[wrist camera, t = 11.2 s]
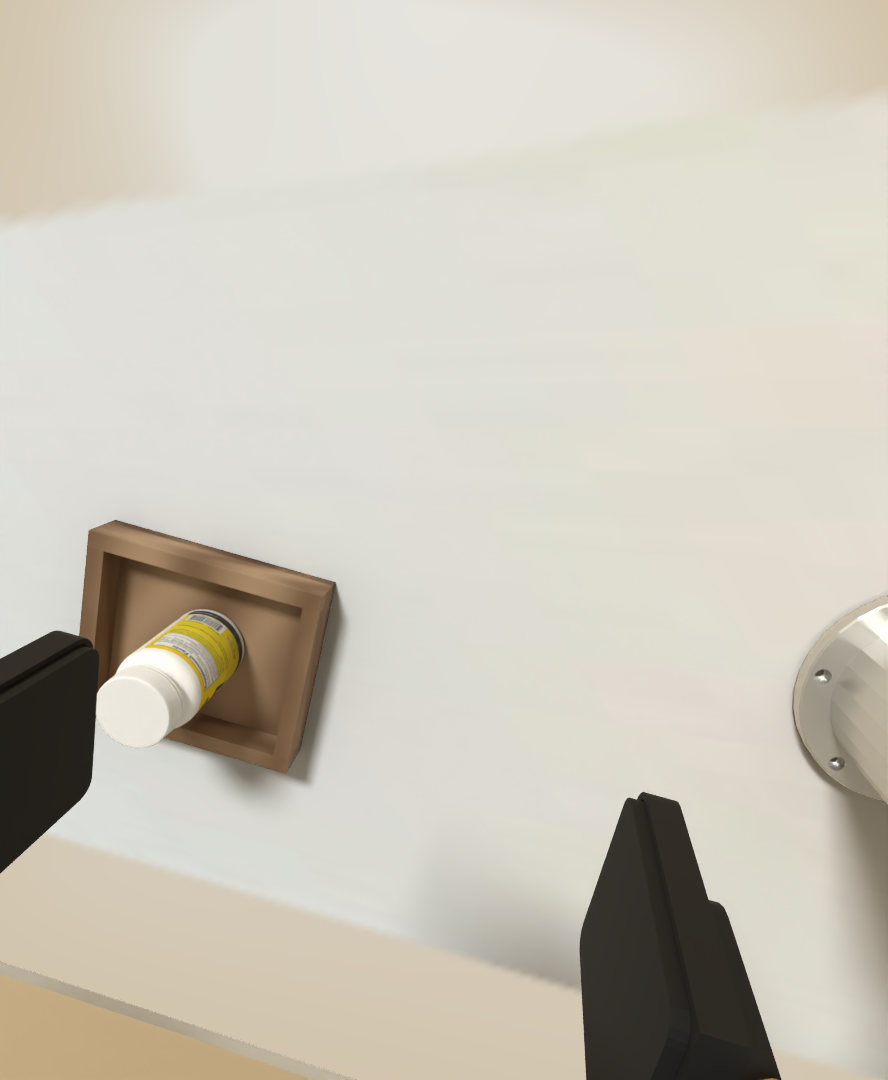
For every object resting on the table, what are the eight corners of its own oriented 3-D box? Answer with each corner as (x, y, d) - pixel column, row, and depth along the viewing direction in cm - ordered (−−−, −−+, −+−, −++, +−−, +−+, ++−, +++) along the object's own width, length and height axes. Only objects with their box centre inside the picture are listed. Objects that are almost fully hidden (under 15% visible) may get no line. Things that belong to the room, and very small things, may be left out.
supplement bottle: (194, 686, 41) (113, 765, 33) (160, 620, 40) (68, 686, 32) (259, 665, 40) (192, 741, 32) (226, 597, 39) (148, 658, 31)
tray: (335, 582, 39) (322, 597, 36) (299, 750, 42) (285, 773, 40) (115, 520, 39) (88, 530, 37) (98, 690, 43) (72, 709, 40)
